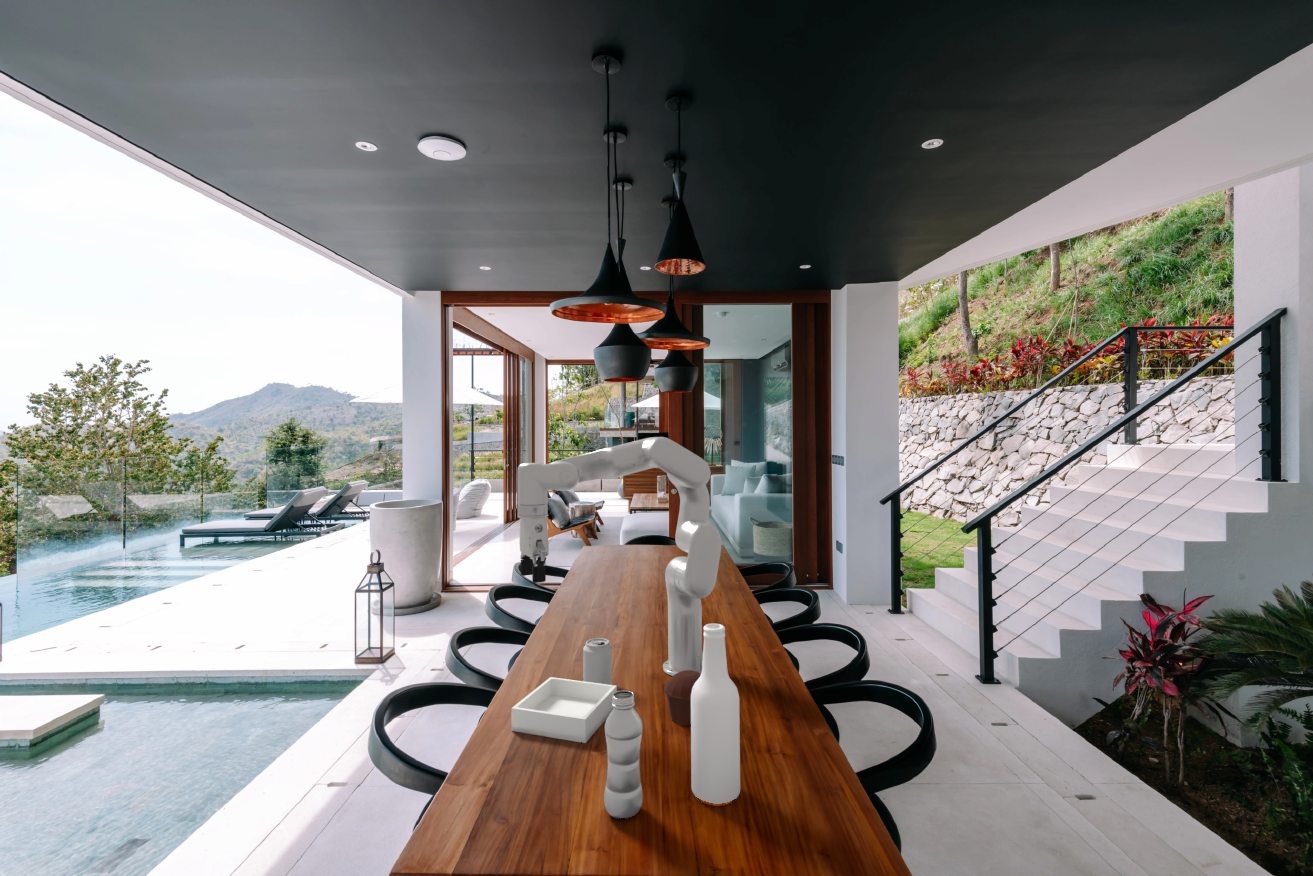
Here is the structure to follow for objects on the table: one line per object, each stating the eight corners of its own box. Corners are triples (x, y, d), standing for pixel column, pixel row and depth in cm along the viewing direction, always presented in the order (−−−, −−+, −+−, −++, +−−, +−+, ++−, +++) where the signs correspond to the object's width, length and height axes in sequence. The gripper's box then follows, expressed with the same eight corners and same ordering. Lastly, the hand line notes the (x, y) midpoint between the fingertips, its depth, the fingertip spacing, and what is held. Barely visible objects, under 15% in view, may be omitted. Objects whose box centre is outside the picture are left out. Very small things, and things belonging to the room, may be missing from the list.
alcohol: (705, 813, 96) (704, 636, 97) (683, 785, 104) (681, 622, 105) (749, 800, 100) (748, 630, 100) (724, 774, 108) (722, 616, 109)
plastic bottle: (604, 801, 100) (603, 687, 100) (642, 799, 100) (641, 686, 101) (603, 826, 93) (603, 704, 94) (644, 823, 94) (643, 702, 94)
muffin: (688, 701, 140) (687, 660, 140) (723, 716, 132) (722, 672, 132) (653, 717, 131) (653, 674, 131) (689, 734, 123) (688, 688, 124)
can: (607, 694, 144) (607, 647, 144) (579, 692, 145) (579, 645, 146) (615, 682, 151) (615, 637, 151) (588, 680, 153) (588, 635, 153)
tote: (616, 706, 137) (616, 685, 137) (585, 743, 120) (585, 719, 120) (550, 697, 142) (550, 677, 143) (511, 731, 125) (511, 708, 125)
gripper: (558, 513, 139) (558, 583, 138) (536, 507, 154) (536, 570, 153) (528, 515, 135) (528, 587, 134) (508, 509, 150) (508, 573, 149)
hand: (532, 578), depth 144 cm, fingers open, 9 cm apart
